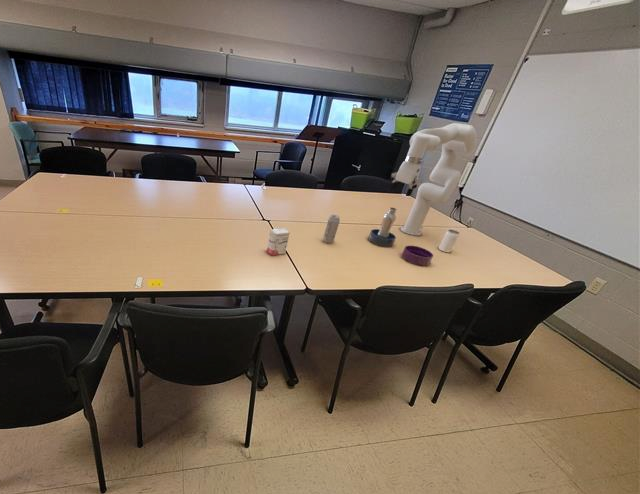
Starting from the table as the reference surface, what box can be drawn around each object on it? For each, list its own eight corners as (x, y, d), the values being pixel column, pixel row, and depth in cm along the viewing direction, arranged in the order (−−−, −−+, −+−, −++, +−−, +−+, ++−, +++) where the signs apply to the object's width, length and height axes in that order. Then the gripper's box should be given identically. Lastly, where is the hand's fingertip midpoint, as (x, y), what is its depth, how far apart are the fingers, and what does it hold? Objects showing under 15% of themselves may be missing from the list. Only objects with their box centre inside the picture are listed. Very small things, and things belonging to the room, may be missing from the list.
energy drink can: (333, 244, 176) (341, 219, 167) (322, 242, 176) (329, 217, 168) (332, 240, 181) (340, 215, 173) (322, 238, 181) (329, 213, 173)
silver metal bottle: (387, 244, 184) (400, 211, 173) (375, 242, 185) (388, 209, 174) (385, 240, 189) (398, 207, 178) (373, 237, 190) (386, 205, 179)
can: (448, 249, 190) (458, 230, 183) (451, 253, 184) (461, 234, 178) (437, 246, 191) (446, 228, 185) (439, 250, 186) (449, 232, 179)
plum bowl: (411, 251, 180) (414, 244, 177) (434, 263, 170) (438, 255, 167) (396, 255, 173) (399, 247, 170) (419, 268, 163) (423, 259, 160)
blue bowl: (378, 235, 195) (380, 228, 193) (397, 245, 186) (401, 237, 183) (363, 238, 188) (365, 230, 186) (382, 248, 179) (385, 240, 176)
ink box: (271, 255, 155) (275, 233, 149) (266, 251, 159) (270, 229, 152) (285, 253, 159) (290, 232, 153) (280, 249, 163) (284, 228, 156)
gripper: (432, 164, 160) (418, 197, 169) (402, 156, 171) (390, 188, 180) (424, 164, 156) (410, 198, 165) (394, 156, 168) (382, 188, 177)
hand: (399, 193), depth 173 cm, fingers open, 9 cm apart
